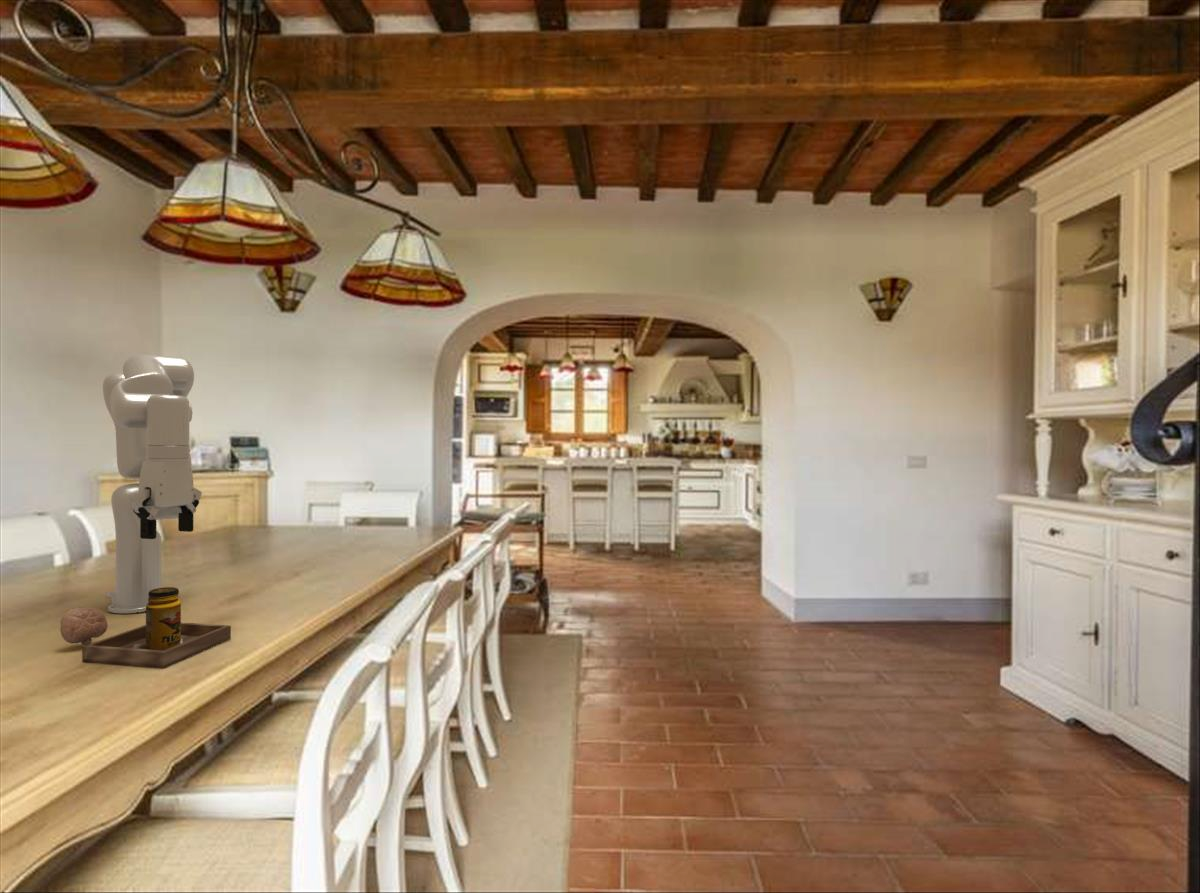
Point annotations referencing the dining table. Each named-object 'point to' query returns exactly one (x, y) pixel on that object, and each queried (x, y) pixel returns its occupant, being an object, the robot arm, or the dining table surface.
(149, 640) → the condiment
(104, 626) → the mushroom
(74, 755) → the dining table surface
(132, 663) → the tray
